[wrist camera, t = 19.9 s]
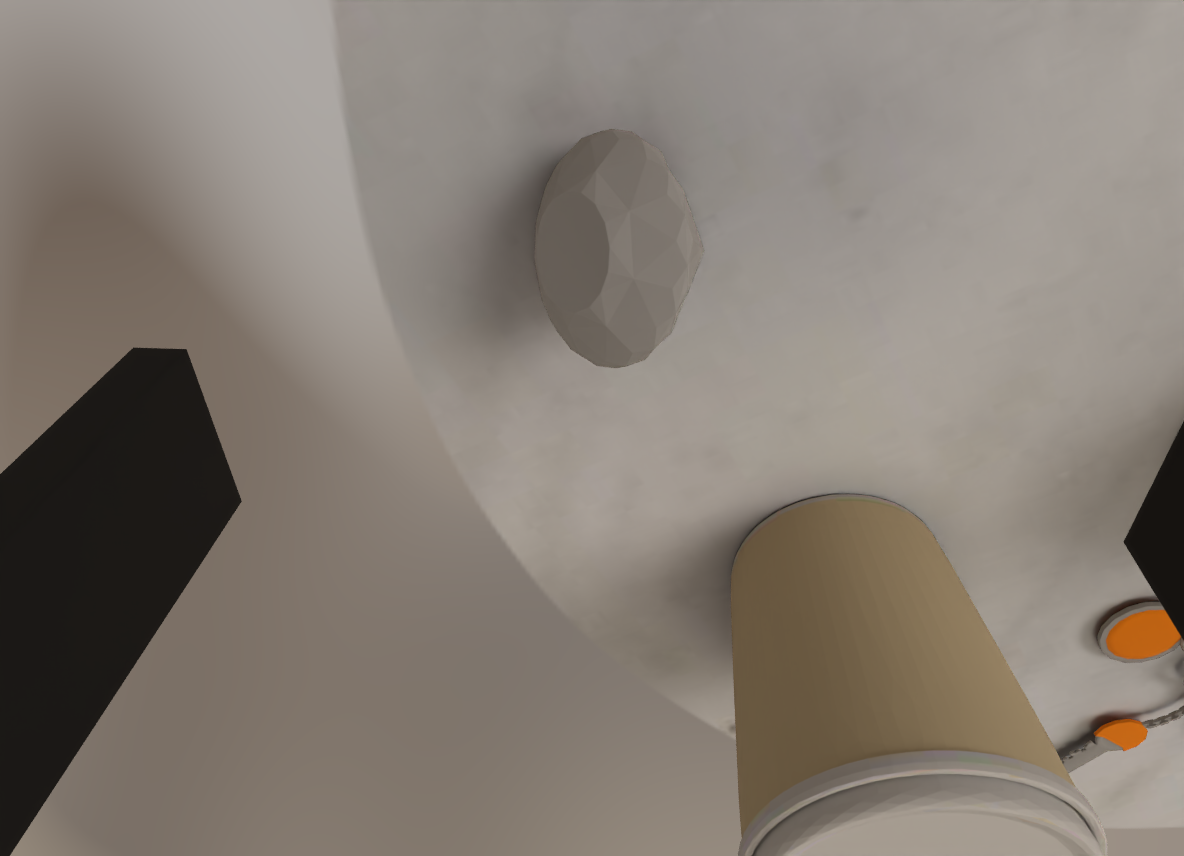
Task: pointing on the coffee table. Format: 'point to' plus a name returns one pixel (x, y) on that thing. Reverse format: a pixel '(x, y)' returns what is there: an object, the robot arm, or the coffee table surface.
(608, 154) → the gemstone
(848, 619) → the coffee cup
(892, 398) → the coffee table surface
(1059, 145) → the coffee table surface
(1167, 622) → the key chain
